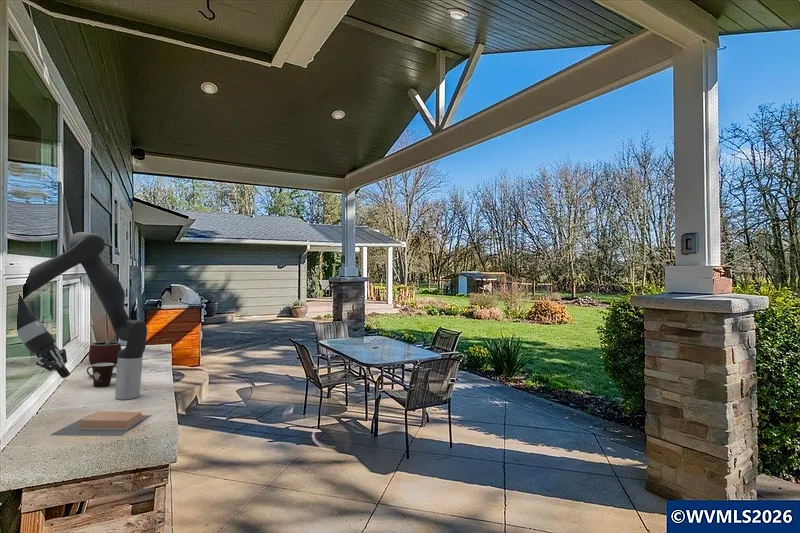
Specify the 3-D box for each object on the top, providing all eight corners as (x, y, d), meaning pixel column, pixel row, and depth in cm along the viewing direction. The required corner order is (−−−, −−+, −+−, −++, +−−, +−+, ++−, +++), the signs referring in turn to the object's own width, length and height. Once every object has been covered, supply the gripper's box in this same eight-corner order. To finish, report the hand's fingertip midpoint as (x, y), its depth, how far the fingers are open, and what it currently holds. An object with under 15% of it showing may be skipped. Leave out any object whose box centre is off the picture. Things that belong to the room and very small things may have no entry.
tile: (97, 411, 156) (141, 412, 158) (97, 419, 156) (141, 420, 158) (80, 420, 146) (127, 420, 148) (79, 429, 146) (126, 429, 148)
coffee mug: (116, 385, 207) (117, 364, 207) (96, 388, 199) (97, 367, 200) (103, 382, 212) (105, 361, 213) (83, 385, 205) (85, 363, 206)
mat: (90, 416, 161) (90, 414, 162) (152, 416, 164) (152, 415, 164) (48, 436, 140) (49, 435, 140) (121, 437, 142) (121, 435, 142)
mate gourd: (84, 375, 224) (87, 336, 224) (116, 372, 233) (118, 335, 234) (90, 381, 212) (93, 340, 213) (123, 378, 222) (126, 338, 223)
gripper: (31, 336, 146) (64, 377, 148) (57, 326, 159) (87, 364, 161) (11, 348, 145) (45, 389, 148) (39, 337, 158) (69, 375, 161)
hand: (67, 376), depth 154 cm, fingers closed
